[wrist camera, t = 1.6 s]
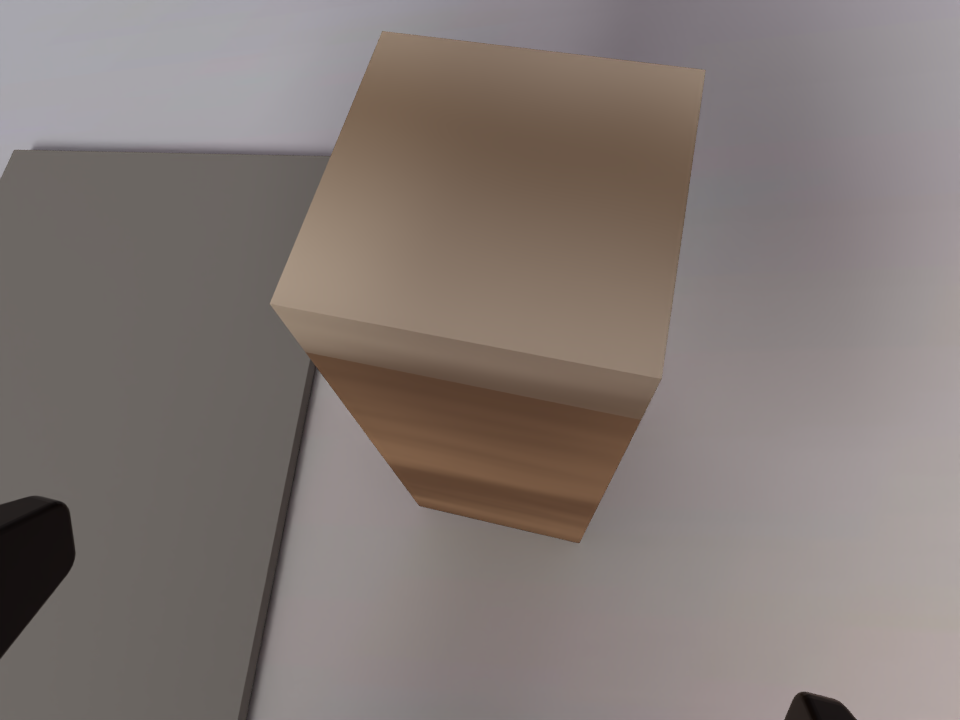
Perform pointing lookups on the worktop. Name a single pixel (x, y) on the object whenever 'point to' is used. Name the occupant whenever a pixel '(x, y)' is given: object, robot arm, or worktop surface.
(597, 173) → the walnut block
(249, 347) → the slate mat
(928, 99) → the worktop surface
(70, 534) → the robot arm
